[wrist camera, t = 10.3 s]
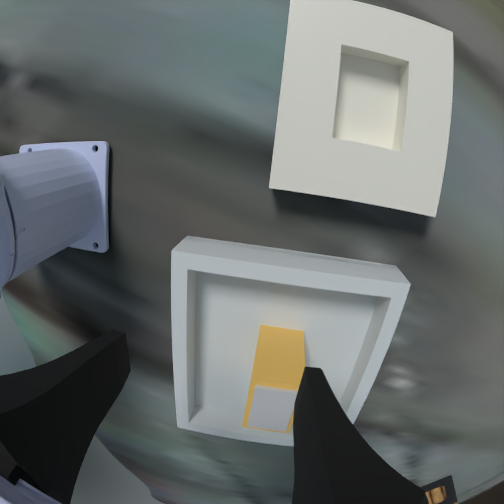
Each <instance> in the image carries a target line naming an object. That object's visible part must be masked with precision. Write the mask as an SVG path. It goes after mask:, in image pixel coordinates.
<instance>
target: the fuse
mask: <svg viewBox="0 0 504 504" xmlns="http://www.w3.org/2000/svg"><path fill="white" fill-rule="evenodd" d="M304 368H305V347H304V331H300V330H293V329H286V328H280V327H273V326H267V325H261V324H260V330H259V336H258V341H257V347H256V353H255V358H254V364H253V369H252V375H251V381H250V386H249V391H248V397H247V402H246V408H245V413H244V418H243V424H242V427H247V428H253V429H260V430H267V431H275V432H283V433H289V432H290V429H291V427H292V424H293V417H294V404H295V399H296V396H297V393H298V389H299V386H300V382H301V379H302V375H303V372H304Z"/></svg>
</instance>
